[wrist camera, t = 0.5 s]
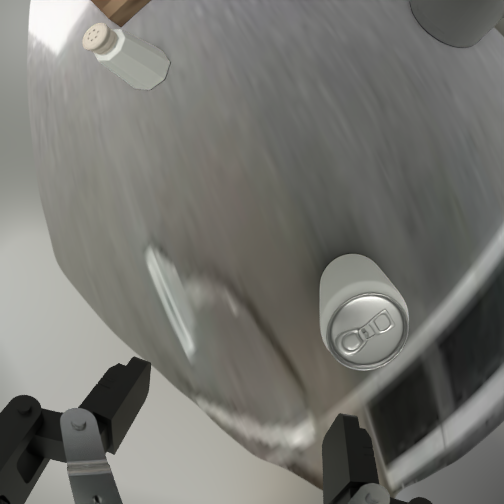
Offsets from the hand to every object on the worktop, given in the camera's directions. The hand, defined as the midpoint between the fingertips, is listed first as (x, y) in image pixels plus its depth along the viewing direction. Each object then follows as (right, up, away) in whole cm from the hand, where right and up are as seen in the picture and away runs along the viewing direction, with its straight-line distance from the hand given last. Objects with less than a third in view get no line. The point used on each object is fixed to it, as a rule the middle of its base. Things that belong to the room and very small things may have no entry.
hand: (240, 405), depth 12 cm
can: (+10, +3, +19) cm, 22 cm away
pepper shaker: (-11, +27, +19) cm, 35 cm away
